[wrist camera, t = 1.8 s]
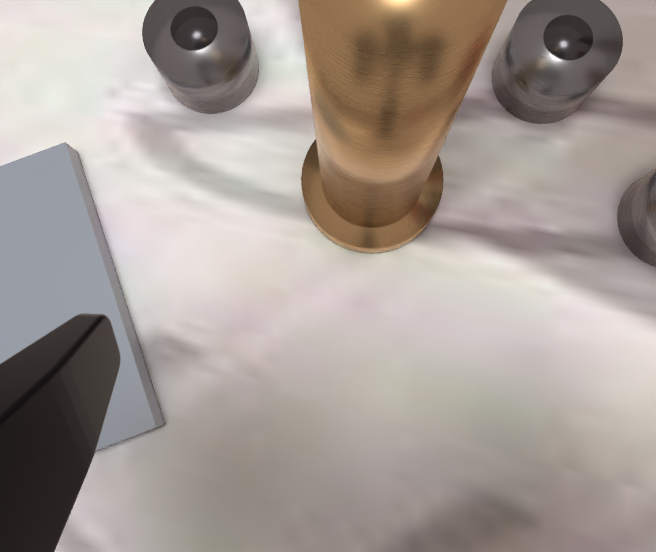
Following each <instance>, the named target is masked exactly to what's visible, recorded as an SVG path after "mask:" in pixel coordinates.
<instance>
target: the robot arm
mask: <svg viewBox="0 0 656 552" xmlns="http://www.w3.org/2000/svg"><path fill="white" fill-rule="evenodd" d="M120 360H121V357H120V351H119V347H118V344H117V341H116V337H115V334H114V330H113V327H112V324H111V321H110V319H109V318H108V316H106V315H104V314H90V313H82V314H78V315H76V316H74V317H73V318H71V319H69V320H68V321H66V322H65V323H63V324H62V325H60V326H59V327H57V328H55V329H54V330H52V331H51V332H49V333H48V334H46V335H44V336H43V337H41V338H40V339H38V340H37V341H35V342H33V343H32V344H30V345H29V346H27V347H26V348H24V349H23V350H21V351H19V352H18V353H16V354H15V355H13V356H12V357H10V358H8V359H7V360H5V361H4V362H2V363H1V364H0V552H54V551H55V549H56V546H57V544H58V541H59V539H60V537H61V534H62V532H63V529H64V527H65V525H66V522H67V520H68V517H69V515H70V513H71V510H72V508H73V505H74V503H75V501H76V498H77V496H78V493H79V491H80V489H81V486H82V484H83V481H84V479H85V477H86V474H87V472H88V469H89V467H90V464H91V462H92V459H93V456H94V453H95V450H96V447H97V444H98V441H99V437H100V434H101V430H102V427H103V423H104V420H105V417H106V413H107V410H108V406H109V403H110V399H111V396H112V392H113V389H114V385H115V382H116V379H117V375H118V372H119V368H120Z"/></svg>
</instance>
